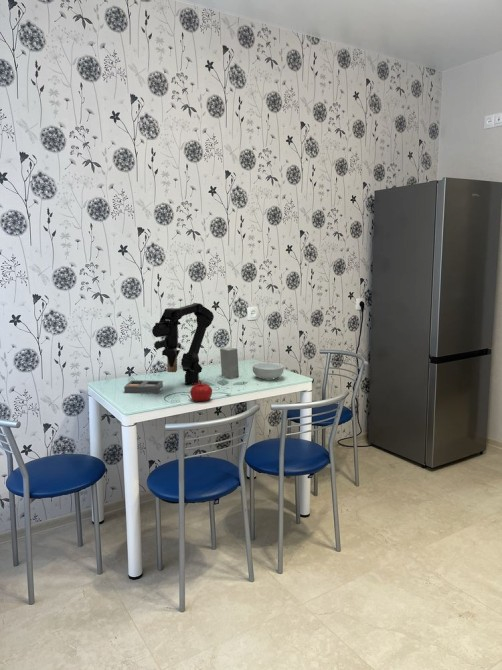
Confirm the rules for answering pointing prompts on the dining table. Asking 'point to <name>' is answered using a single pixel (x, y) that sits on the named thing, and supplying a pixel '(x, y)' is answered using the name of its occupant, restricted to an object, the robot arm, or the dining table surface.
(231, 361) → the skincare box
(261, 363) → the cereal bowl
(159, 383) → the socket block
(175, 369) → the walnut plug
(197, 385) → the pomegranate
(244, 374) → the dining table surface
